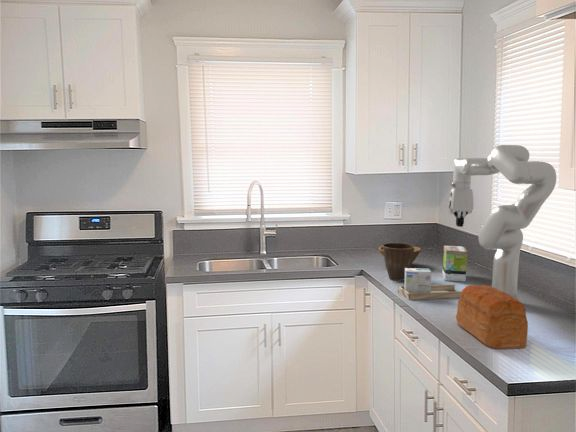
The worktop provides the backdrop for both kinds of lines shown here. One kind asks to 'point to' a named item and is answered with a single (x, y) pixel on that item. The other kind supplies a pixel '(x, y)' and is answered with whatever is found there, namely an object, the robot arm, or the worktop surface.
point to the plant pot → (397, 259)
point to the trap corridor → (432, 292)
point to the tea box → (454, 263)
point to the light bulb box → (417, 280)
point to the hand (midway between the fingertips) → (459, 226)
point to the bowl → (415, 254)
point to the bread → (492, 317)
